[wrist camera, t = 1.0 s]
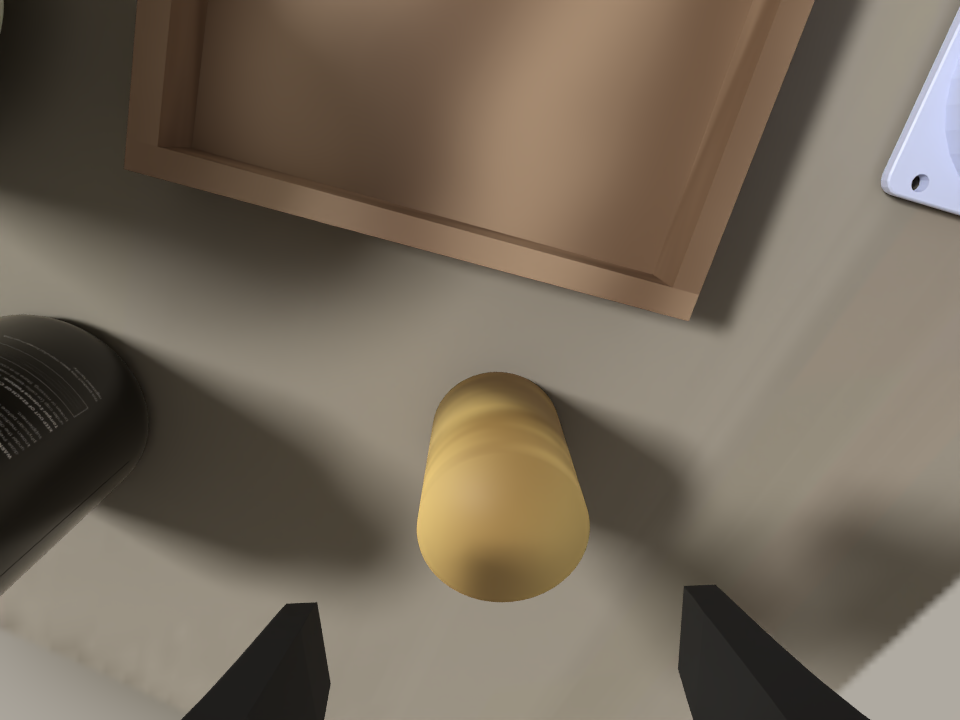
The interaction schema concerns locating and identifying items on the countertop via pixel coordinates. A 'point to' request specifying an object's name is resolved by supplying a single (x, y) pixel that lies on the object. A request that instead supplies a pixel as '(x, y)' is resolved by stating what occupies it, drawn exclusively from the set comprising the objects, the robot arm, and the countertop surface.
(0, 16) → the coffee can
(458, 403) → the tan wooden cylinder
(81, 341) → the supplement bottle
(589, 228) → the tray
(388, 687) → the countertop surface
